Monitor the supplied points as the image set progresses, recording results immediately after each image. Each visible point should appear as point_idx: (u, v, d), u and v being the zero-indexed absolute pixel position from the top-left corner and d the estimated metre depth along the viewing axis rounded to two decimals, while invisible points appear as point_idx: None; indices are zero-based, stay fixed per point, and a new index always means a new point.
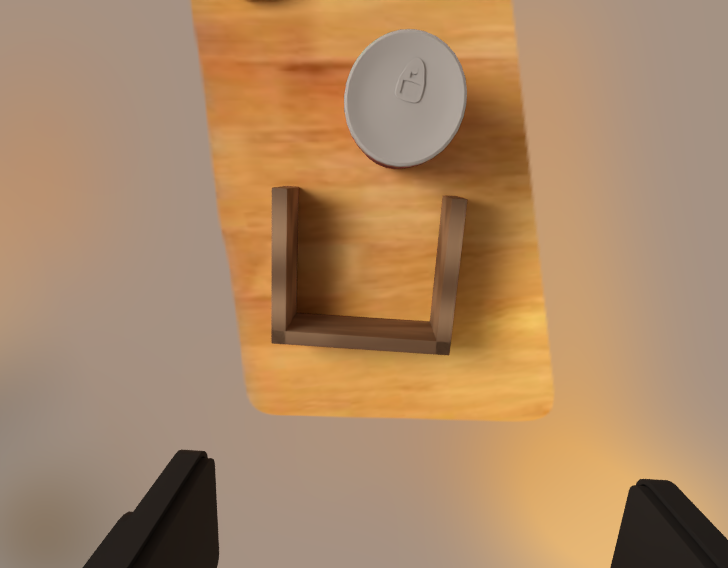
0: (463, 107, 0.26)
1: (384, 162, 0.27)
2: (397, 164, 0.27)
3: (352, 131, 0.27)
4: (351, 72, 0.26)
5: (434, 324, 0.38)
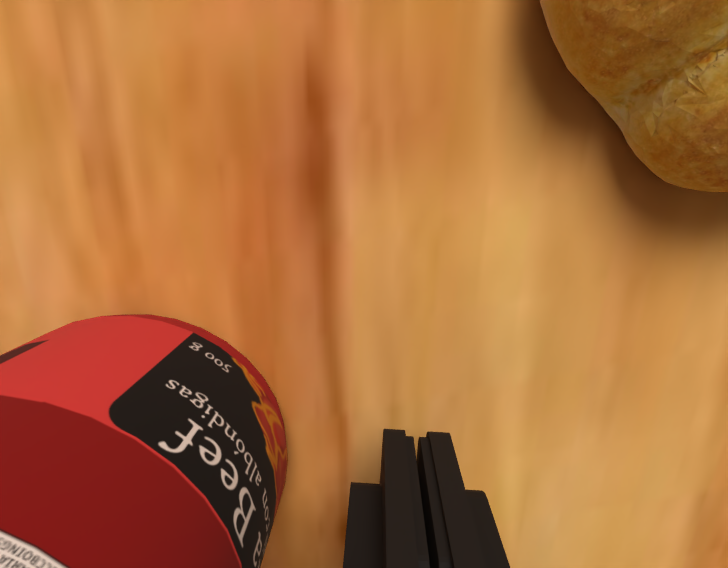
0: None
1: None
2: None
3: None
4: None
5: None
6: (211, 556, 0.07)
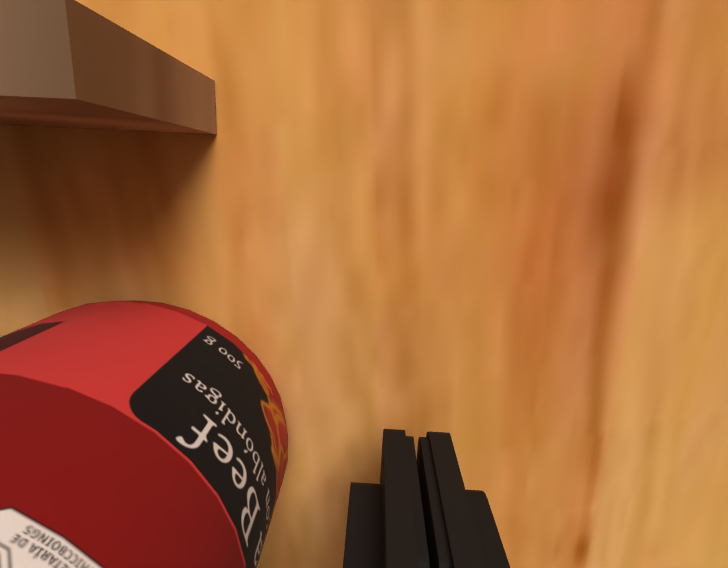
0: None
1: None
2: None
3: None
4: None
5: None
6: (221, 554, 0.07)
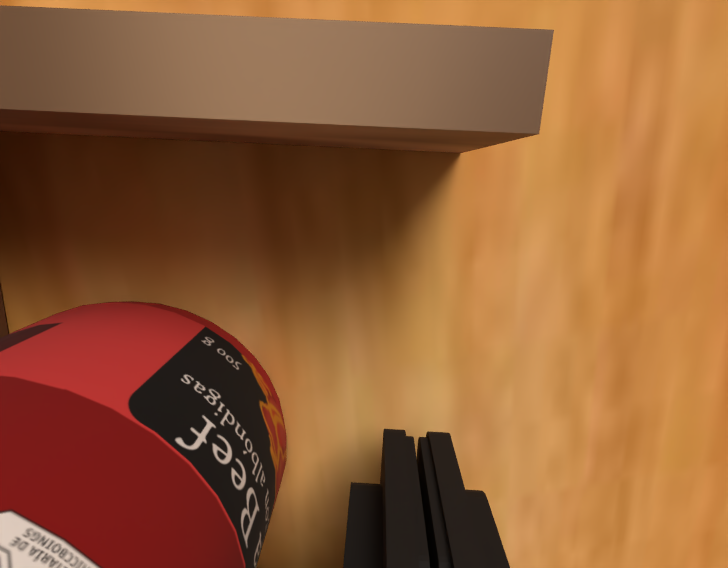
0: None
1: None
2: None
3: None
4: None
5: None
6: (221, 557, 0.07)
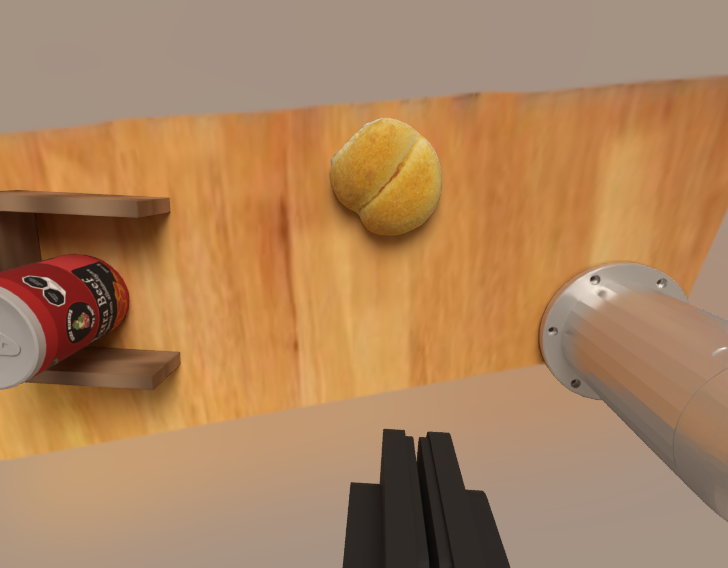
0: None
1: None
2: None
3: None
4: None
5: None
6: (89, 301, 0.33)
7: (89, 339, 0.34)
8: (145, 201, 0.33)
